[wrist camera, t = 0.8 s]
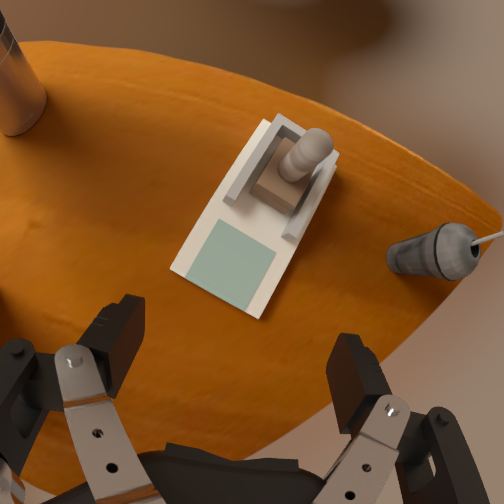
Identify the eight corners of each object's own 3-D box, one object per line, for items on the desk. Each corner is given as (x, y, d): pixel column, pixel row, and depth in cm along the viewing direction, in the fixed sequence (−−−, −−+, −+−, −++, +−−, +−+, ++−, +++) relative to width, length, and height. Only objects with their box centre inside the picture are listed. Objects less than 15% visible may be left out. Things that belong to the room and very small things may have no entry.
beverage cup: (380, 284, 42) (492, 283, 23) (376, 235, 43) (484, 208, 23) (415, 280, 44) (520, 275, 24) (411, 234, 44) (514, 211, 25)
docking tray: (260, 123, 40) (269, 107, 36) (332, 169, 42) (347, 159, 38) (169, 269, 36) (168, 267, 32) (255, 317, 38) (265, 322, 33)
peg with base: (275, 149, 38) (310, 103, 27) (307, 170, 39) (353, 132, 27) (249, 192, 37) (278, 155, 25) (283, 214, 38) (326, 187, 26)
